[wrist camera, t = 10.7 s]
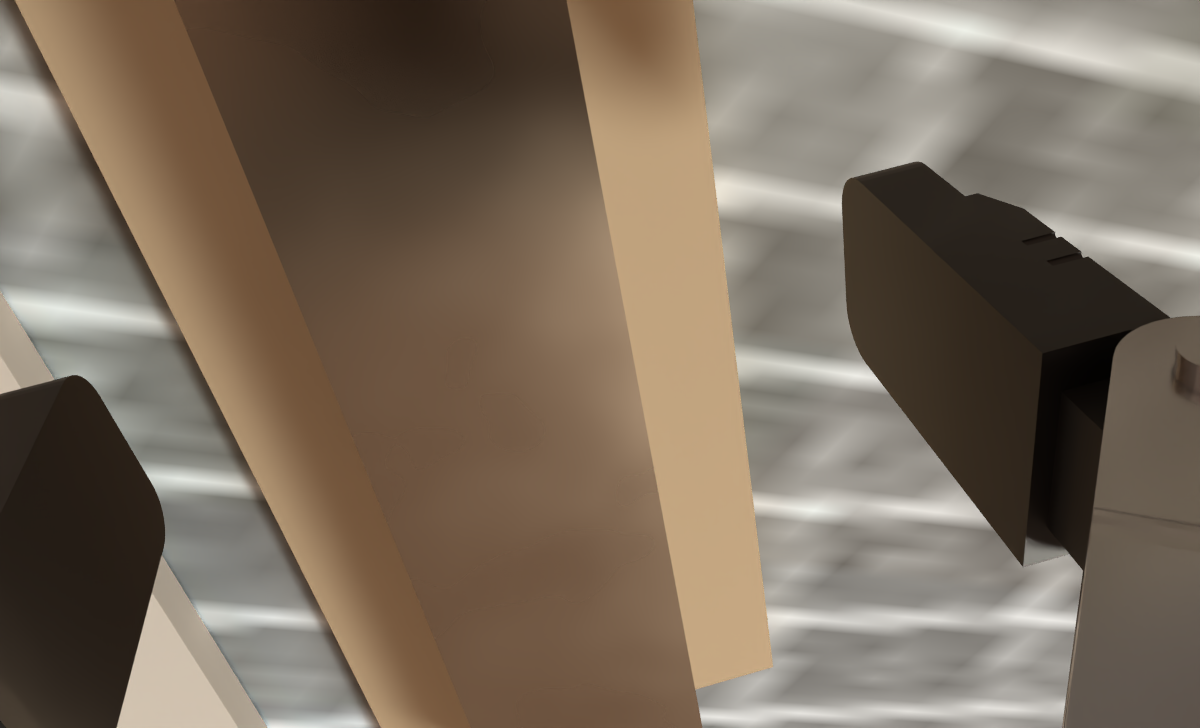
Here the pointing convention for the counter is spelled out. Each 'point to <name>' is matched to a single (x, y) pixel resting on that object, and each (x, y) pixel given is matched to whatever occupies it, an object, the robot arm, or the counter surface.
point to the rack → (152, 614)
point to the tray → (298, 379)
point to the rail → (469, 332)
